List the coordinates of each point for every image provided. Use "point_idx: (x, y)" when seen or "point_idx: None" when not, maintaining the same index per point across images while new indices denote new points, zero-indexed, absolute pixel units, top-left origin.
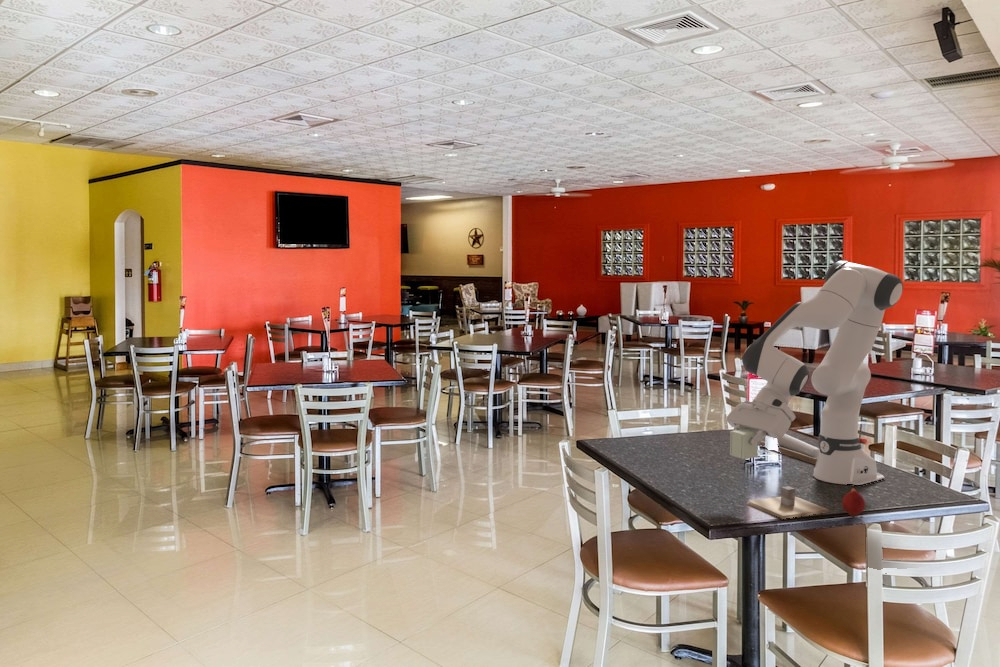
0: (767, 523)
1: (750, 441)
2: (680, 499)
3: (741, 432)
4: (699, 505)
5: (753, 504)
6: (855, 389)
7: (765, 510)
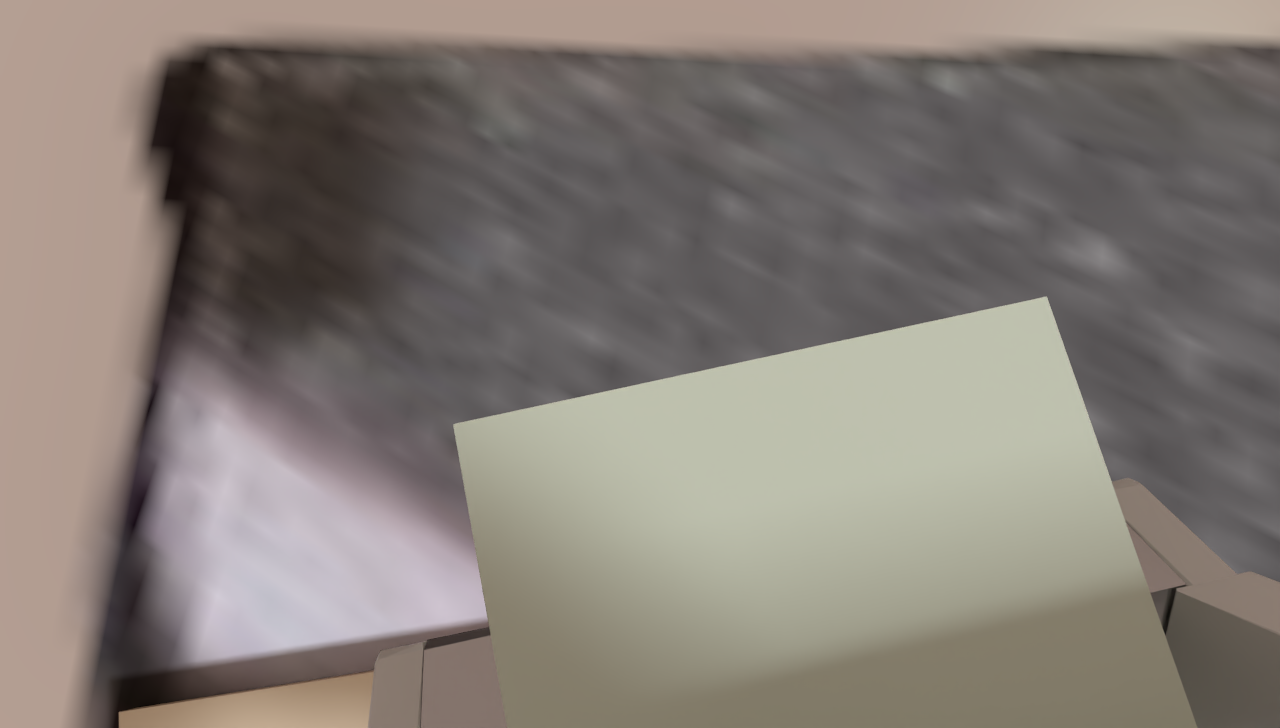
0: (106, 509)
1: (432, 644)
2: (851, 119)
3: (761, 524)
4: (672, 194)
5: None
6: None
7: (365, 672)
